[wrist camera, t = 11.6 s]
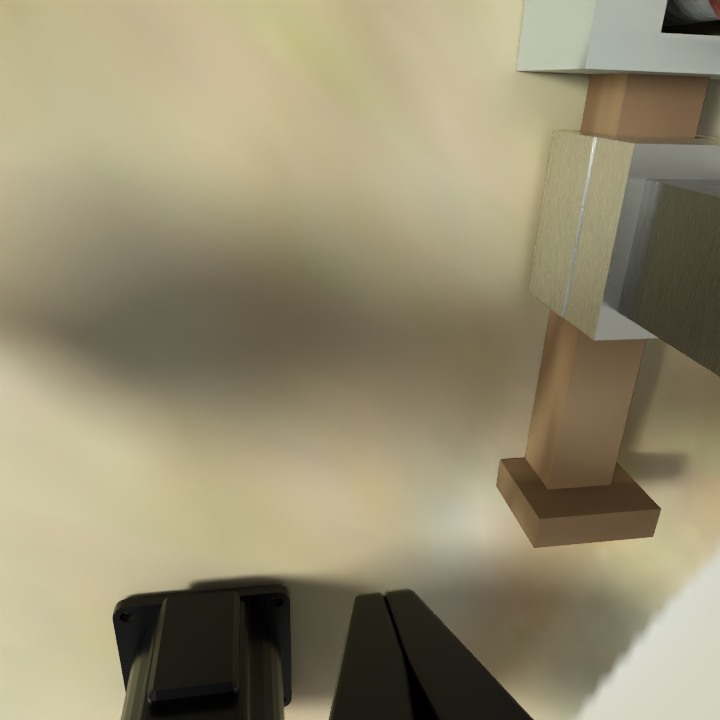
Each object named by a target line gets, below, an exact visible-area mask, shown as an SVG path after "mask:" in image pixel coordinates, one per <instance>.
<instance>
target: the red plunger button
mask: <svg viewBox="0 0 720 720" xmlns="http://www.w3.org/2000/svg"><path fill="white" fill-rule="evenodd" d="M713 20H720V0H667V5H666V10H665V15H664V19H663V24H662V27H666V26H674V25H682V24H690V23H698V22H706V21H713Z"/></svg>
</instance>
